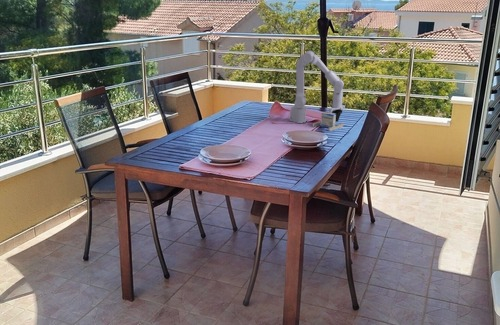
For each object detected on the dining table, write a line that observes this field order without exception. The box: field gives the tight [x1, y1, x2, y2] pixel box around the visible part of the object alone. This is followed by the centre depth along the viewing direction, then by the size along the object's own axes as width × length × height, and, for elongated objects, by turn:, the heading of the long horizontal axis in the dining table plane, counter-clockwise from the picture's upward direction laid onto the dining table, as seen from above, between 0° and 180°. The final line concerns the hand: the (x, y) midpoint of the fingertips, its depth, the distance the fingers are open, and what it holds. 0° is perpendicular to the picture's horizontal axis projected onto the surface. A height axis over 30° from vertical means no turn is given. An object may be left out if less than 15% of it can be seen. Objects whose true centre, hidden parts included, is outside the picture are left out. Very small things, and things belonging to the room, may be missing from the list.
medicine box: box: [320, 111, 336, 129], centre depth 301 cm, size 8×4×9 cm, turn 62°
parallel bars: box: [312, 121, 344, 132], centre depth 302 cm, size 13×14×2 cm
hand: (336, 121), depth 307 cm, fingers closed
